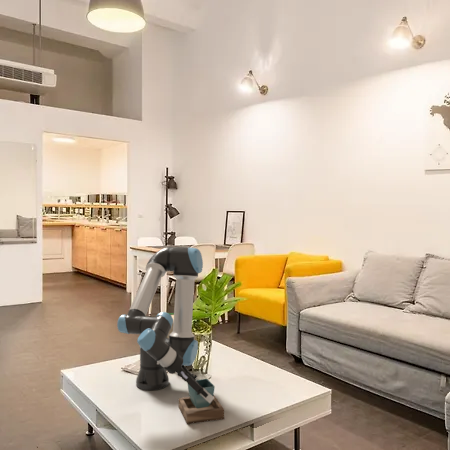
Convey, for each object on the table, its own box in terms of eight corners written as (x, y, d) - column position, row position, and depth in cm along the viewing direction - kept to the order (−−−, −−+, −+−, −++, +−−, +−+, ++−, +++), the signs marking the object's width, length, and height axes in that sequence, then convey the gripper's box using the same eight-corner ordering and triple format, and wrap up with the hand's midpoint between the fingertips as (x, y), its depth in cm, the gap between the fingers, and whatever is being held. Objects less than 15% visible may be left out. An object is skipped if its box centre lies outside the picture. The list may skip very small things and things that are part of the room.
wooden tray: (178, 407, 185) (178, 398, 185) (213, 403, 190) (213, 393, 190) (187, 424, 171) (187, 414, 171) (224, 419, 176) (224, 409, 176)
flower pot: (194, 412, 174) (194, 389, 174) (186, 403, 182) (187, 381, 182) (214, 408, 178) (215, 386, 178) (206, 399, 186) (207, 378, 186)
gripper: (158, 358, 185) (195, 392, 191) (168, 377, 164) (209, 414, 170) (171, 344, 187) (207, 378, 192) (183, 362, 166) (223, 399, 172)
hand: (208, 395), depth 181 cm, fingers closed on flower pot, 9 cm apart
